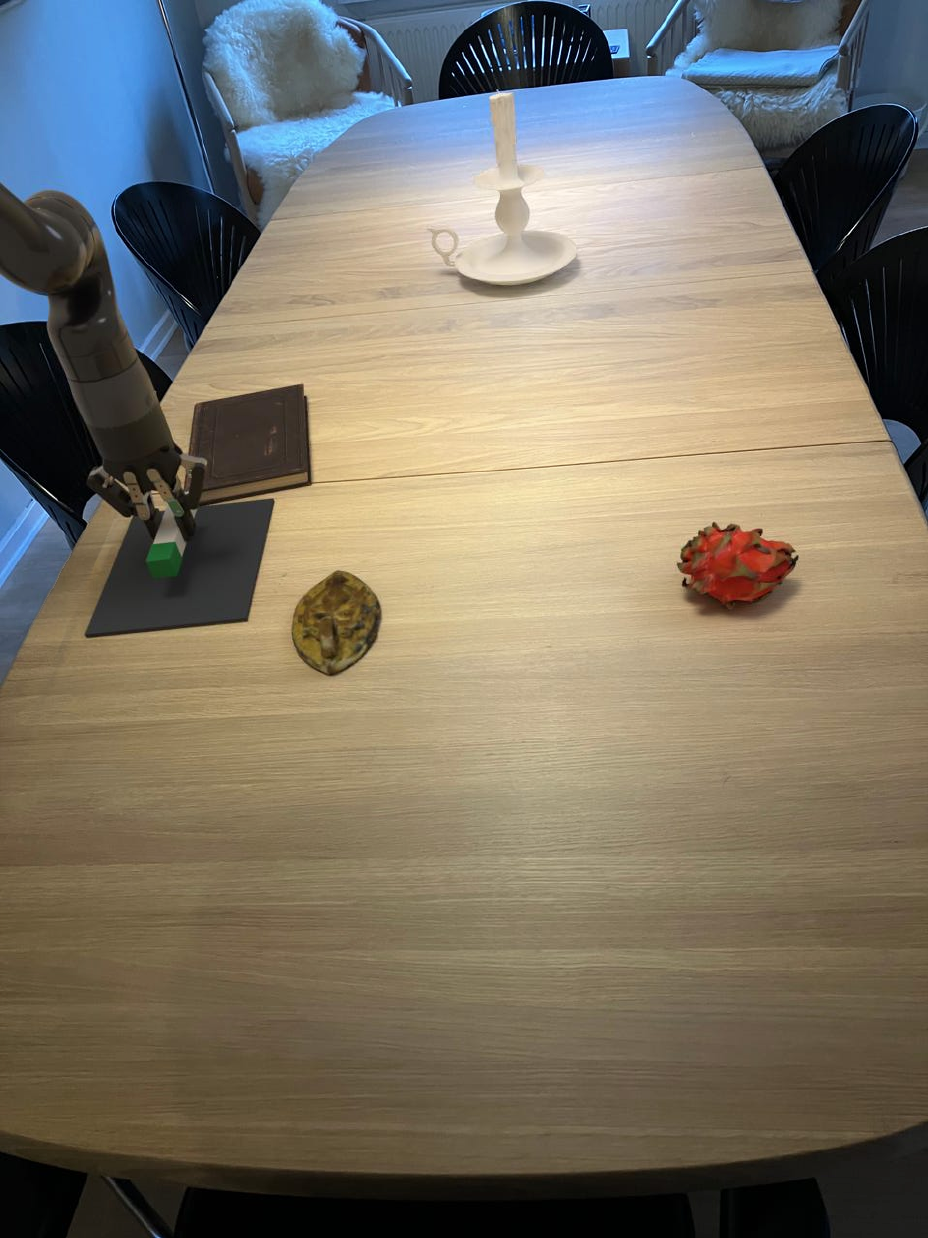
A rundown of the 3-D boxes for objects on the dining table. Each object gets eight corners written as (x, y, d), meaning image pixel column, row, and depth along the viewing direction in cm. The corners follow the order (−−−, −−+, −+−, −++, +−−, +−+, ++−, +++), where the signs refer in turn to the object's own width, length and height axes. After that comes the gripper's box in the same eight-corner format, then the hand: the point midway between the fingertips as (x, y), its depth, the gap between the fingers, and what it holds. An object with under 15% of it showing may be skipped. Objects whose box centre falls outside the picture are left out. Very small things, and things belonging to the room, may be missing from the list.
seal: (299, 592, 103) (294, 688, 92) (284, 560, 100) (276, 655, 89) (379, 572, 102) (383, 666, 91) (366, 539, 99) (369, 632, 88)
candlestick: (444, 253, 167) (420, 79, 148) (581, 244, 162) (575, 64, 143) (423, 304, 152) (393, 118, 133) (573, 296, 147) (565, 102, 128)
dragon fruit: (664, 602, 96) (779, 606, 96) (684, 612, 87) (810, 615, 87) (669, 519, 94) (785, 523, 95) (689, 521, 86) (817, 525, 86)
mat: (86, 637, 100) (84, 634, 100) (135, 516, 116) (133, 513, 116) (247, 621, 99) (246, 617, 99) (274, 501, 115) (273, 497, 115)
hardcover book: (306, 397, 134) (303, 382, 132) (311, 484, 117) (307, 469, 115) (197, 417, 133) (192, 403, 132) (186, 508, 116) (180, 493, 115)
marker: (177, 508, 110) (170, 491, 109) (199, 505, 110) (192, 488, 108) (153, 578, 101) (145, 561, 99) (177, 576, 101) (169, 558, 99)
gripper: (193, 378, 96) (241, 512, 108) (64, 394, 97) (126, 525, 109) (178, 416, 90) (230, 552, 102) (42, 433, 91) (109, 566, 103)
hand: (176, 538), depth 105 cm, fingers closed on marker, 2 cm apart
